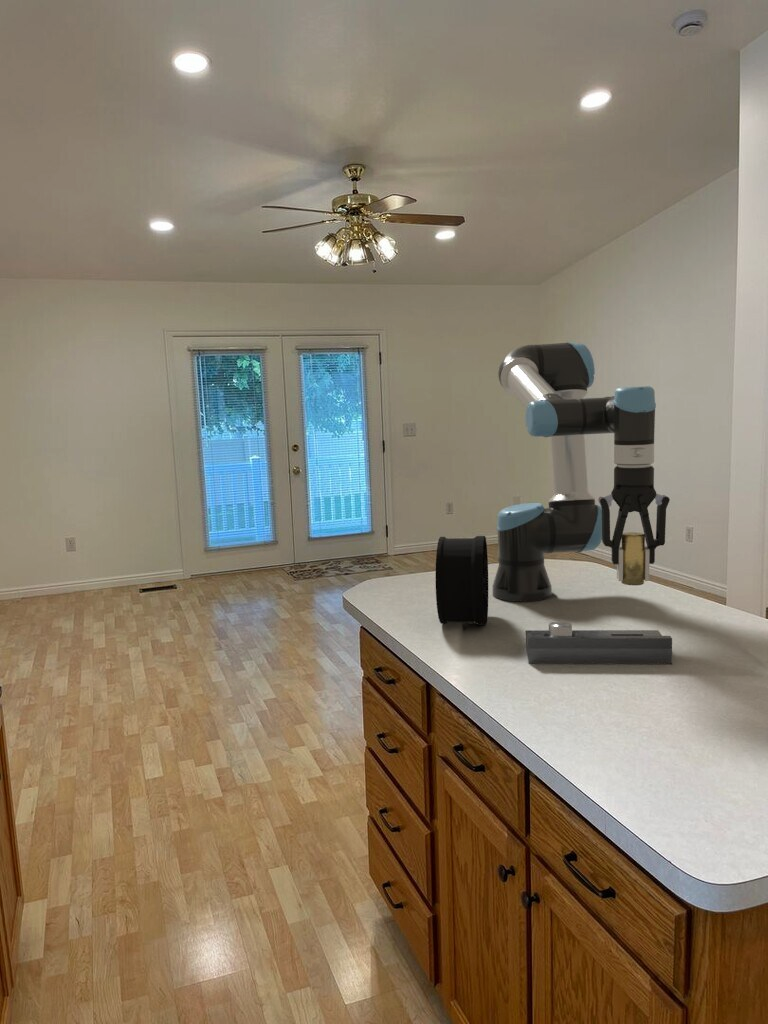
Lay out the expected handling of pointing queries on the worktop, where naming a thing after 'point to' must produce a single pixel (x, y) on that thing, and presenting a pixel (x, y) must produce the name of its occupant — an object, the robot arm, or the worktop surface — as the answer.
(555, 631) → the silver metal cylinder
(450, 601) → the car wheel rim
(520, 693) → the worktop surface
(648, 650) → the jig
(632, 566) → the gold metal cylinder
